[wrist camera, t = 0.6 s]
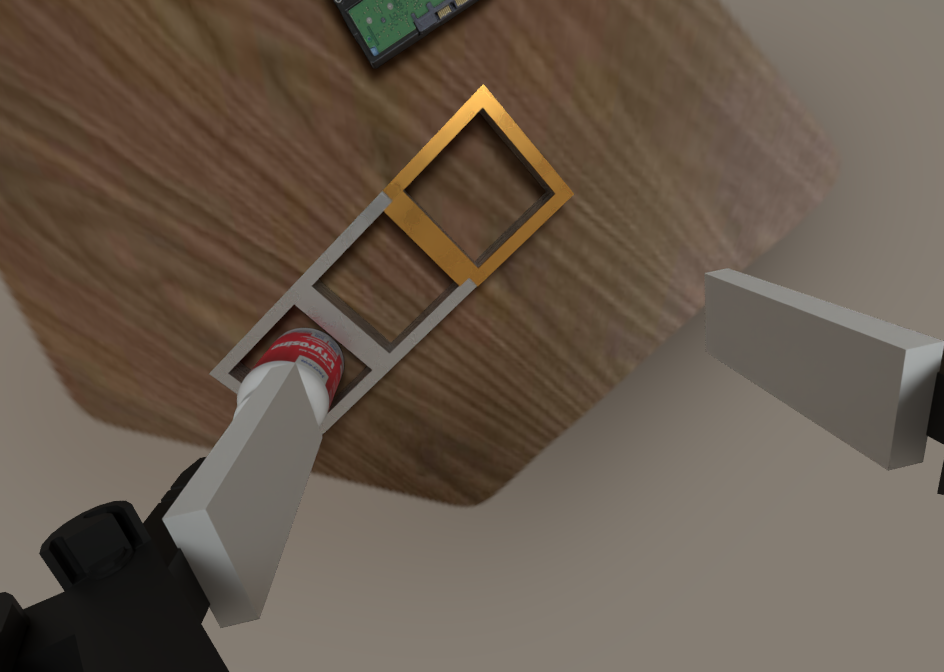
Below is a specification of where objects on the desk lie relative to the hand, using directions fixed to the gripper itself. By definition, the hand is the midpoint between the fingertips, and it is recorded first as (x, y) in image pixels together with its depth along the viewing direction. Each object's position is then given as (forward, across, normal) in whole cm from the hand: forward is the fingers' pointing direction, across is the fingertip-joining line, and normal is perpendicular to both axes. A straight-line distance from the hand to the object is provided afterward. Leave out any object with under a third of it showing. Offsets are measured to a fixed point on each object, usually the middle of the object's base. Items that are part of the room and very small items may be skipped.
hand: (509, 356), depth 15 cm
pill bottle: (+25, -14, -8) cm, 30 cm away
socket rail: (+25, -6, -2) cm, 26 cm away
